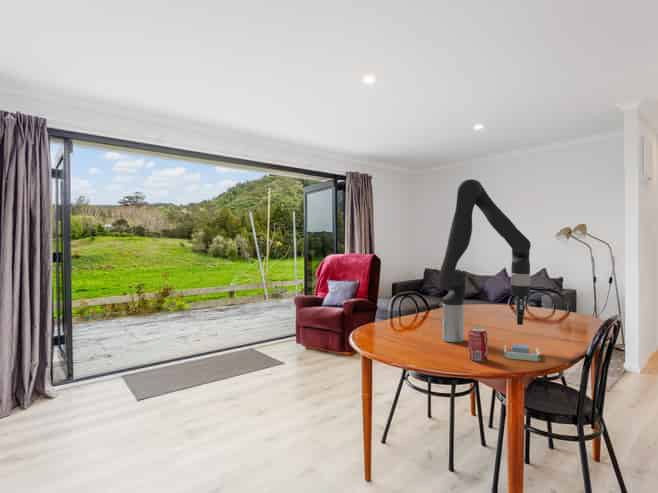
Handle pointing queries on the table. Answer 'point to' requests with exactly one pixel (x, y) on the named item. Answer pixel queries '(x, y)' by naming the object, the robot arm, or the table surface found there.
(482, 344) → the soda can
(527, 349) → the pale blue cube
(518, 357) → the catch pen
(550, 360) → the table surface
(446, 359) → the table surface
